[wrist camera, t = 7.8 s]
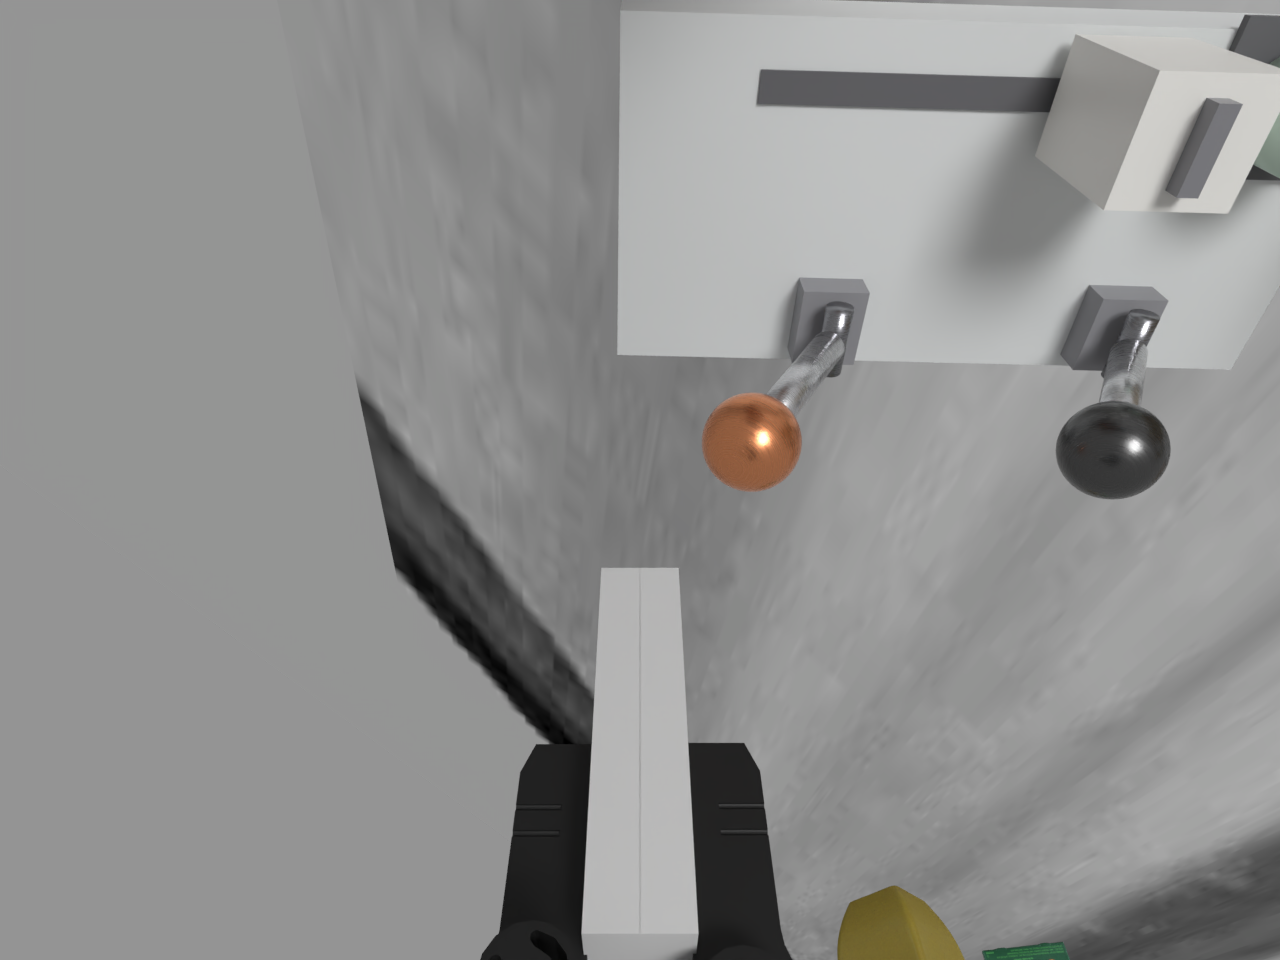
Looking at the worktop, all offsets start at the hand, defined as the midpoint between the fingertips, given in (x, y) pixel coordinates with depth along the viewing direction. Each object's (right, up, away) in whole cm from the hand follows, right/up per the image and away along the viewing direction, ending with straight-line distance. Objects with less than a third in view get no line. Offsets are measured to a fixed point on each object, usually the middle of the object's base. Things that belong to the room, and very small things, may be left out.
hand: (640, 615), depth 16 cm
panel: (+12, +14, +15) cm, 24 cm away
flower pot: (+22, -35, +55) cm, 70 cm away
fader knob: (+15, +15, +9) cm, 23 cm away
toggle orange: (+7, +8, +13) cm, 17 cm away
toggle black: (+18, +8, +13) cm, 24 cm away
